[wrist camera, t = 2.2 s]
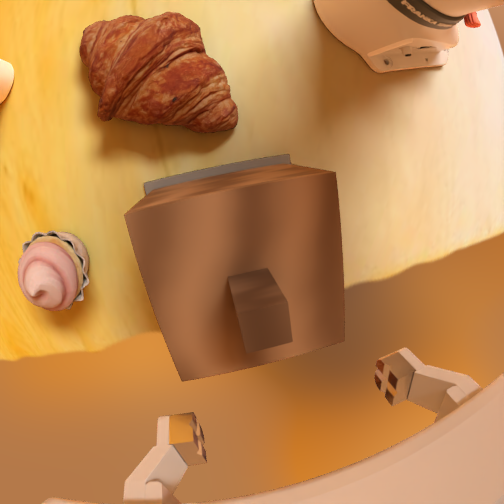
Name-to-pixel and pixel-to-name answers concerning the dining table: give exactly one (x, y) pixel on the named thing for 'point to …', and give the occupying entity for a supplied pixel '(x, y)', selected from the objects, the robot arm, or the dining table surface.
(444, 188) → the dining table surface
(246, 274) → the wooden block with knob
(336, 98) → the dining table surface
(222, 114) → the pastry
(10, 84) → the can
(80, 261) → the cupcake
